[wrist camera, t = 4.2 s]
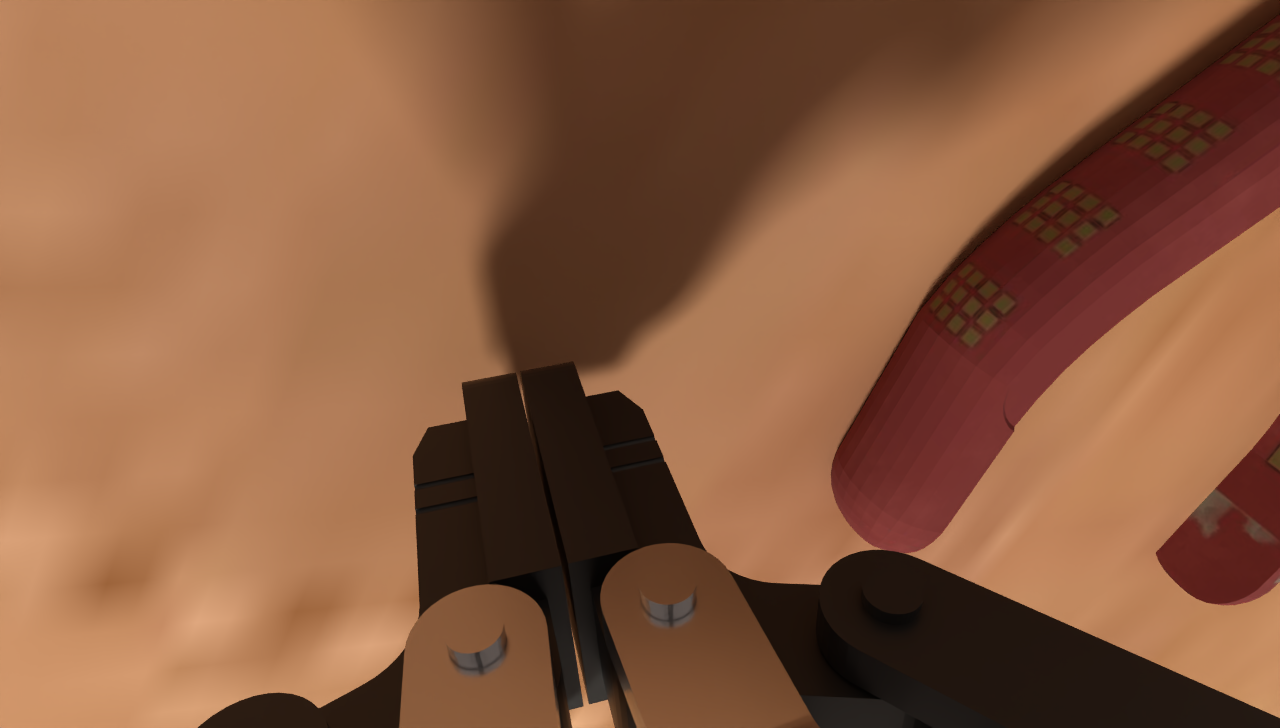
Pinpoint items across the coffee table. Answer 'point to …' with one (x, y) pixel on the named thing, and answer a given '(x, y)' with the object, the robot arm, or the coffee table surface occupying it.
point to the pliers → (1082, 324)
